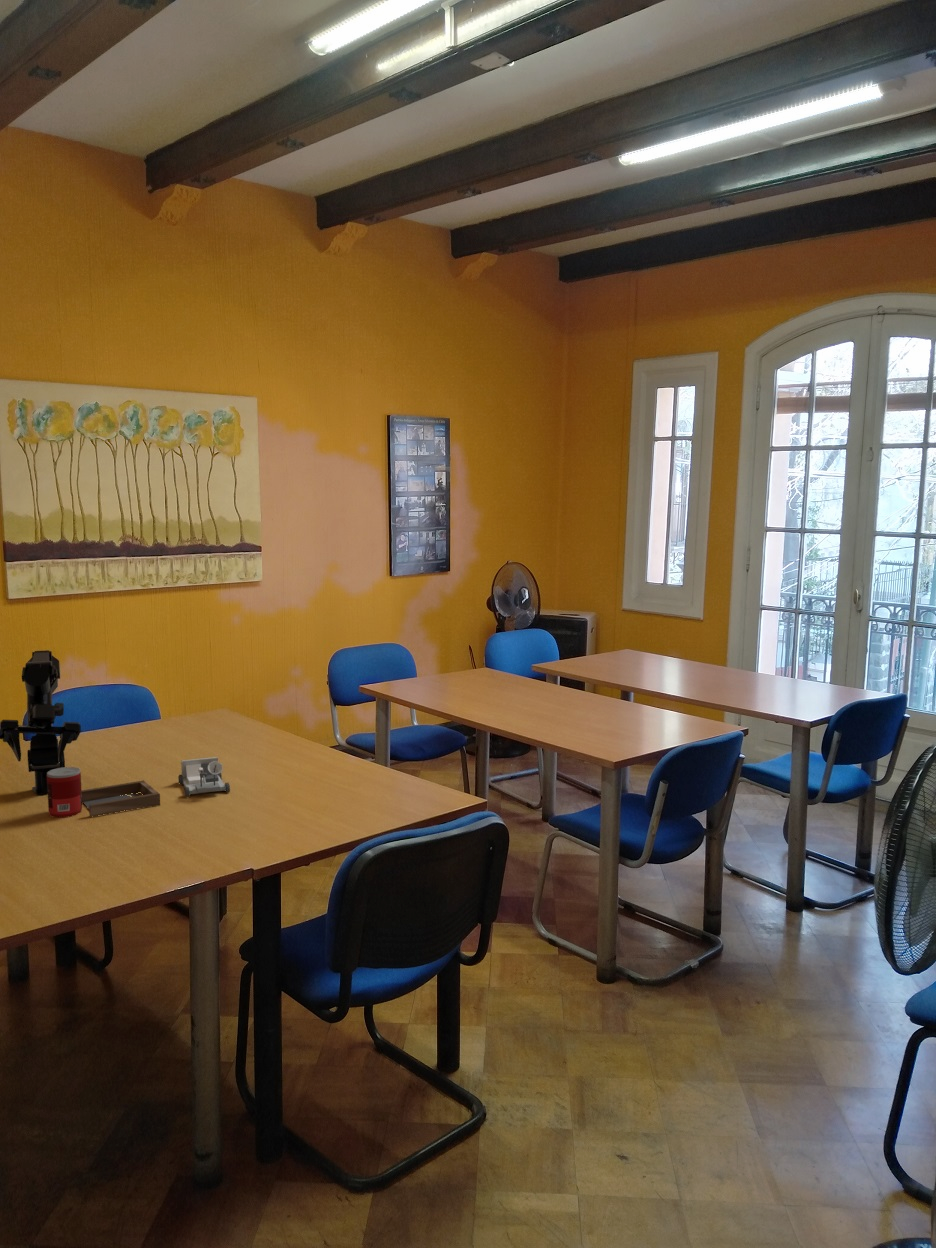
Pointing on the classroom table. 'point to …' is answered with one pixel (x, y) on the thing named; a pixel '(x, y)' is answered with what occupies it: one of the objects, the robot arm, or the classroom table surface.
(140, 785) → the cradle
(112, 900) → the classroom table surface
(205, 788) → the toy car
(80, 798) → the canned food
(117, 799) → the mat
